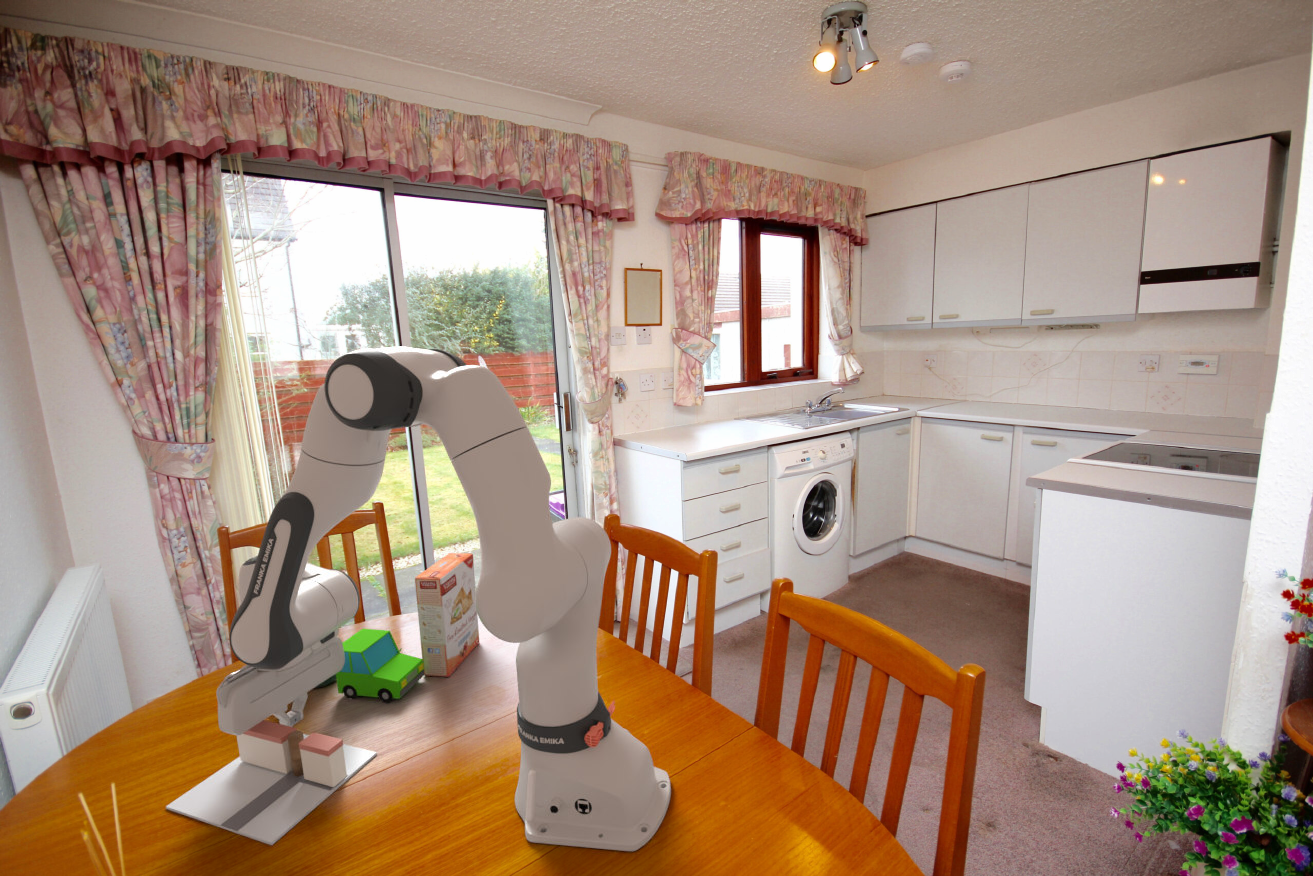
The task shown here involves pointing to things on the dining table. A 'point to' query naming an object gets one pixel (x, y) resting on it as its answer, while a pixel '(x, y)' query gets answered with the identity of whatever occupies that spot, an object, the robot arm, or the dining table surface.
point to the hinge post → (296, 752)
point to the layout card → (260, 797)
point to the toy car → (377, 667)
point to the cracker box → (447, 613)
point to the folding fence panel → (267, 746)
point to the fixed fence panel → (323, 759)
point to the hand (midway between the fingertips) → (292, 723)
